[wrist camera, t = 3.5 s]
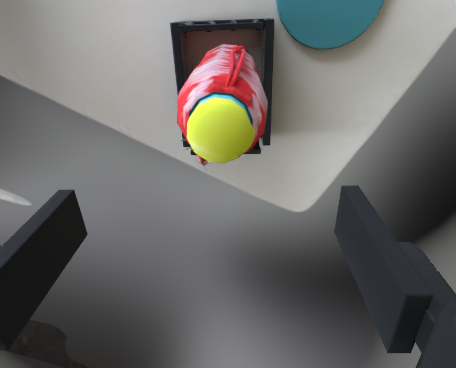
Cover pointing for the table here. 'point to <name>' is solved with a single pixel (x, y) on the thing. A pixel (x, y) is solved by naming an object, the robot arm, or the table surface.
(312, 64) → the table surface
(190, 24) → the rack
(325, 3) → the mat
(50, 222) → the robot arm
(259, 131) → the water bottle
